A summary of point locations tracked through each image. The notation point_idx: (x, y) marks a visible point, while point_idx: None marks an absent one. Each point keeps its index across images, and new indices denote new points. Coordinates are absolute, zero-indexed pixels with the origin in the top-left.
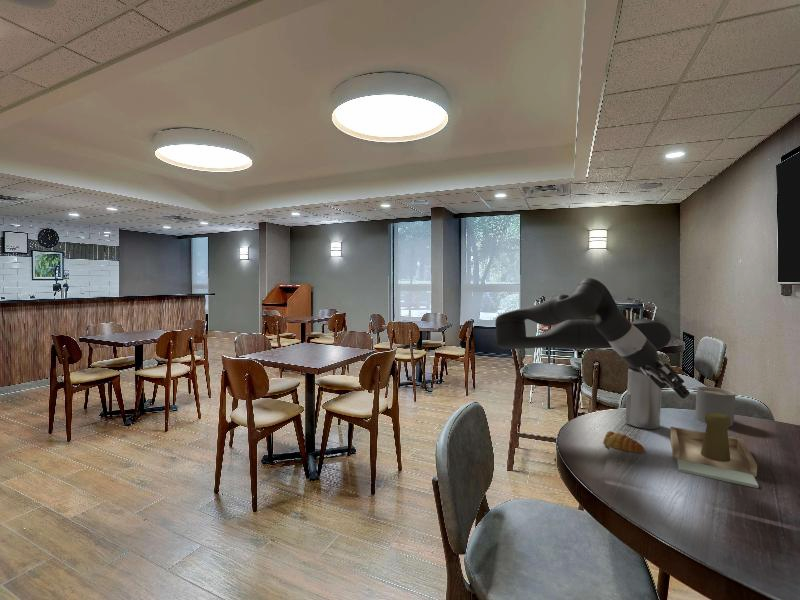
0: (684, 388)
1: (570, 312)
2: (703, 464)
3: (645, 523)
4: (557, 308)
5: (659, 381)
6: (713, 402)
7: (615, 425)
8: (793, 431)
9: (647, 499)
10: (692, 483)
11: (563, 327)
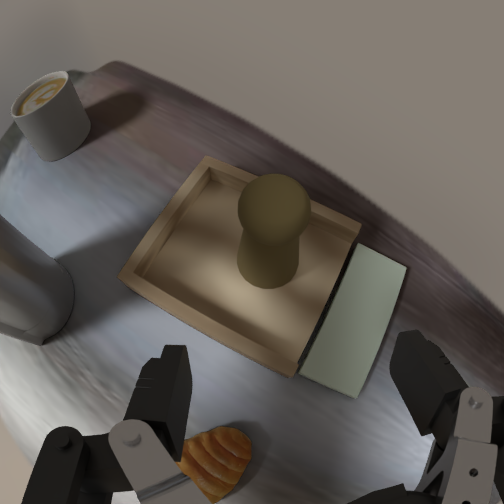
0: (453, 368)
1: None
2: (326, 322)
3: (494, 498)
4: None
5: (182, 404)
6: (57, 115)
7: (48, 380)
8: (133, 66)
9: None
10: (393, 388)
11: None
